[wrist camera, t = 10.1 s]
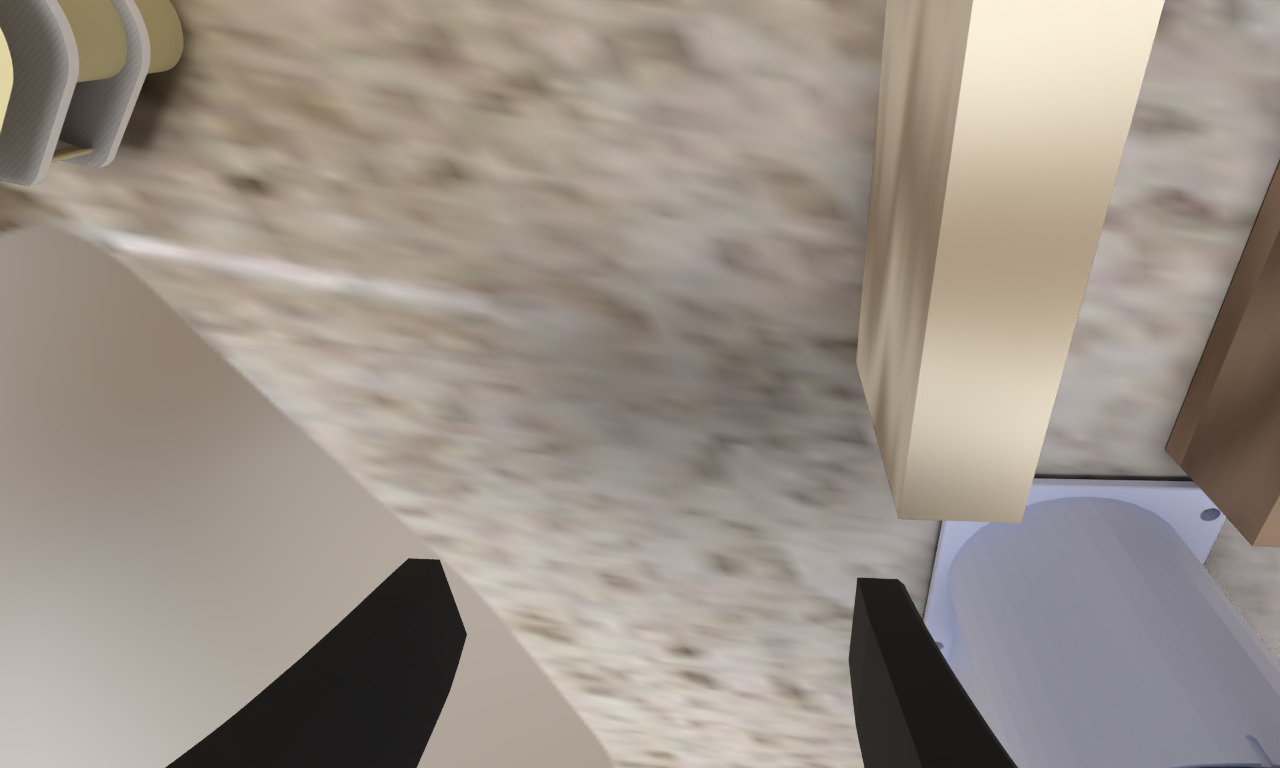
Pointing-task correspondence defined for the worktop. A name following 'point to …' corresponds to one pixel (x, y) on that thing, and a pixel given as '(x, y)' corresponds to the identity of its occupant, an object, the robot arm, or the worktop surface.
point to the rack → (1241, 393)
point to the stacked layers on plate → (76, 78)
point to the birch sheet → (986, 232)
